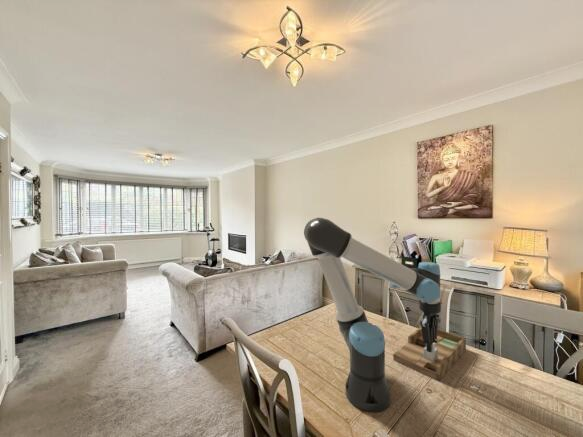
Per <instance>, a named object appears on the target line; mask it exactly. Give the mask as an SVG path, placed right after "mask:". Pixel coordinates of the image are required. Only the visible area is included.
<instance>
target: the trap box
mask: <svg viewBox="0 0 583 437" xmlns="http://www.w3.org/2000/svg"><path fill="white" fill-rule="evenodd" d="M407 338H408V339H407V341H408V342H407V343H406V344H404V345H403V346H402V347H401V348H399V349H398V350H397V351H395V352H394V353H393V354H392V358H393V361H395V362H397V363H399V364H402V365H403V366H405V367H408V368H409V369H411V370H414V371H416V372H419V373H420V374H422V375H424V376H427V377H429V378H431V379H434V380H435V381H438V382H441V380H442V379H443V378H444V377H445V376H446V374H447V373H448V372H449V371H450V370H451V368H452V367H453V366H454V365H455V364H456V362H457V361H458V360H459V359H460V357H461V356H462V355H463V354H464V352H465V351H466V350H467V346H466V344H467V341H466V340H467V338H466V337H464V336H461V335H457V334H455V333H451V332H448V331H445V330H442V329H439V328H438V330H437V339H435V340H436V341H437V343H435V342H434V343H435V348H437V349H438V359H437V360H436V361H435V362H433V361H430V360H428V359H425V358H424V348H425V347H426V343H424V342H423V335H422V328H421V326H420V327H419V328H418V329H416V330H415V331H414V332H412V333H411V334H409V335H408V336H407Z"/></svg>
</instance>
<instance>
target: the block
mask: <svg viewBox="0 0 583 437" xmlns="http://www.w3.org/2000/svg"><path fill="white" fill-rule="evenodd" d="M424 358H425V359H428V358H426V347H425V348H424ZM437 359H438V349H437V348H435V359H434V360H431V359H428V360H430V361H433V362H435V361H436V360H437Z"/></svg>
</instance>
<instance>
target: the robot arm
mask: <svg viewBox="0 0 583 437" xmlns="http://www.w3.org/2000/svg"><path fill="white" fill-rule="evenodd" d="M303 235H304V238H305V240H306V243H307V244H308V247H309V249H310V252H311V254H312V256H313V257H315V258H317V261H318V263H319V265H320V269H321V271H322V274H323V276H324V279H325V281H326V284H327V287H328V289H329V292H330V294H331V297H332V300H333V302H334V305H335V308H336V312H337V313H336V315H335V319H336V321H337V323H338V329H339V331H340V333H341V335H342V337H343V339H344V342H345V344H346V346H347V349H348V350H349V367H350V368H349V372H348V376H347V378H346V382H345V387H344V389H345V396H346V398H347V400H348V401H349V403H350V404H352V405H353V406H354V407H356V409H360V410H362V411H365V412H369V413H380V412H383V411H385V410H387V409H388V408H389V407H390V405H391V399H392V398H391V397H392V396H391V390H390V388H389V384H388V382H387V379H386V372H385V371H386V369H385V368H386V367H385V366H386V364H385V363H386V361H385V360H386V357H385V356H386V355H385V354H386V353H385V352H386V348H385V347H386V340H385V335H384V332H383V331H382V329H381V328H380V327H379V326H378V325H376V324H373V323H371V322H369V320H368V317H367V315H366V312H365V311H364V307H362V306H361V305H359V304H358V301H357V299H356V296H355V294H354V291H353V288H352V286H351V282H350V280H349V278H348V274H347V273H346V269H345V267H344V265H343V262H342V259H341V258H343V259H345V260H347V261H348V262H350V263H353V264H354V265H356V266H358V267H360V268H362V269H364V270H366V271H368V272H369V273H372V274H374V275H376V276H377V277H379V278H381V279H383V280H385V281H387V282H389V284H390V286H391V287H392V288H394V289H395V288H396V289H402V290H404V291H406V292H407V293H410V294H412V295H413V296H415V297H417V298H418V299H419V301H418V303H419V304H418V306H419V307H418V308H419V309H420V311H421V312H422V313H423V314H422V319H423V320H420V322H419V324H420V327H421V328H422V335H423V342H424V343H426V358H428V359H431V360H434V359H435V343H437V341H436V340H435V339H437V330H438V329H439V319H440V315H439V313H441V310H442V309H441V303H440V302H441V298H442V295H441V270H440V265H439V264H438V263H436V262H431V261H422V262H419V263H418V266H417V267H415V268H414V267H413V268H410V267H407V266H406V265H404V264H402V263H400V262H398V261H396V260H395V259H392V258H391V257H389V256H387V255H385V254H383V253H381V252H379V251H378V250H376V249H374V248H372V247H370V246H368V245H366V244H364V243H362V242H360V241H358V240H357V239H355V238H353V236H352V234H351V233H350V232H348V231H346V230H344V229H343V228H341V227H340V226H339V225H338V224H336V223H334V222H332V221H331V220H330V219H327V218H325V217H324V218H323V217H316V218H315V217H314V218H313V219H310V220H309V221H308V222H307V223H306V225H305V226H304V230H303ZM434 342H435V343H434Z"/></svg>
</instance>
